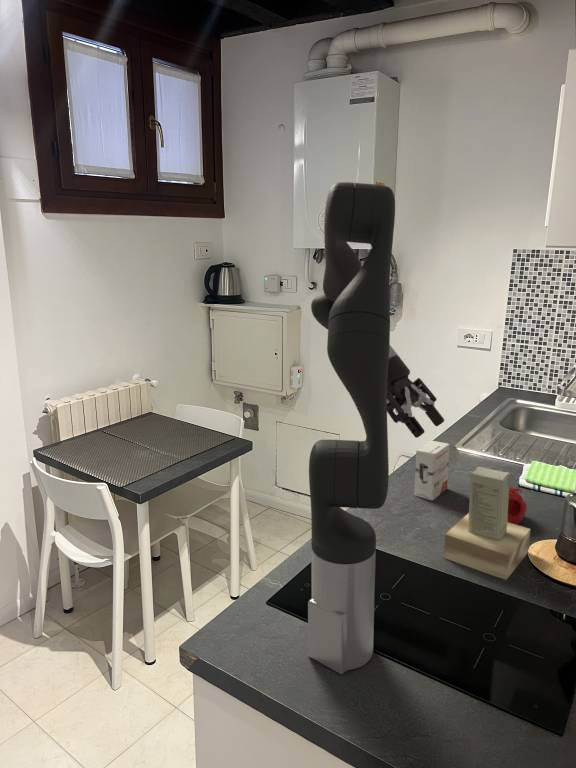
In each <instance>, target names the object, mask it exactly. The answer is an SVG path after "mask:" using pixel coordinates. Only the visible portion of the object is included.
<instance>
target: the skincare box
mask: <svg viewBox="0 0 576 768" xmlns="http://www.w3.org/2000/svg"><path fill="white" fill-rule="evenodd" d="M469 476H470V479H469V480H470V481H469V501H468V503H469V504H468V507H469V508H468V513H469V524H468V531H469V532H472V533H475V534H479V535H482V536H486V537H489V538H493V539H497V540H500V539H501V538H502V537H503V536H504V534H505V533H506V531H507V517H508V500H509V487H510V483H511V481H510V479H511V473H510V472H507V471H502V470H499V469H492V468H489V467H485V466H477V467H476V468H475V469H474V470H472V471H471V472H470V475H469Z"/></svg>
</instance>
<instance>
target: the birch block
mask: <svg viewBox="0 0 576 768" xmlns="http://www.w3.org/2000/svg"><path fill="white" fill-rule="evenodd" d="M468 524H469V512H468V513H466V515H464V516H463V518H461V519H460V520H459V521H458V522H457V523H456V524H455V525H454V526H452V528H450V529H449V530H448V531H447V532H446V533H445V534H444V548H443V549H444V550H443V558H444V559H446V560H449V561H453V562H455V563H457V564H459V565H463V566H466V567H468V568H471V569H474V570H477V571H479V572H483V573H485V574H488V575H491V576H494V577H496V578H499V579H501V580H504V581H507V580H508V578H509V577H511V575H512V573H514V571H515V570H516V569H517V567H518V566H519V565H520V564H521V562H522V561H523V560H524V558H525V557H526V556H527V554H528V553H529V547H530V541H531V540H530V537H531V528H529V527H525V526H522V525H519V524H516V525H515V524H512V523H509V522H507V531H506V533H505V534H504V536H503V537H502V538H501V539H500V540H497V539H493V538H489V537H486V536H482V535H479V534H475V533H472V532H469V531H468Z"/></svg>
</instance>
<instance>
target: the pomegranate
mask: <svg viewBox="0 0 576 768" xmlns="http://www.w3.org/2000/svg"><path fill="white" fill-rule="evenodd" d="M519 492H520V493H523V491H522V490H521V489H520V488H515V487H510V486H509V500H508V517H507V522H509V523H512V524H515V525H519V523H521V521H523V519H524V517H525V516H526V513H527V509H528V506H527V502H525V501H524V500H523V497H522V495H521V494H520V493H519Z"/></svg>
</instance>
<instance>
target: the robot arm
mask: <svg viewBox="0 0 576 768" xmlns="http://www.w3.org/2000/svg"><path fill="white" fill-rule="evenodd" d="M326 197H327V198H326V203H325V208H324V220H323V221H324V225H323V226H324V228H323V229H324V230H323V231H324V232H323V234H324V235H323V236H324V242H323V243H324V256H325V257H324V258H325V267H324V274H323V280H322V281H323V282H322V290H323V292H322V293H321V294H318V295H317V296H315V297H314V298H313V299H312V301H311V305H310V309H311V312H312V316H313V317H314V318H315V321H317V322H318V324H320V325H321V326H322V327H323V328H325V329H326V330H327V346H326V351H327V356H328V360H329V362H330V364H331V366H332V368H333V370H334V372H335V373H336V376H338V378H339V380H340V381H341V383H342V385H343V386H344V388H345V390H346V391H347V392H348V394H349V396H350V397H351V399H352V401H353V403H354V405H355V407H356V410H357V412H358V413H359V416H360V418H361V421H362V424H363V428H364V431H365V436H366V438H365V440H349V439H348V440H347V439H319V440H317V441H316V442H315V443H314V444H313V445H312V448H311V451H310V452H309V460H308V485H309V497H310V498H309V499H310V514H311V516H310V517H311V519H310V520H311V598H310V599H309V600H308V601H307V633H308V634H307V637H308V638H307V639H308V642H307V643H308V645H307V648H308V651H307V653H308V655H307V656H308V657H309V658H311V659H313V660H315V661H317V662H318V663H320V664H321V665H323V666H326V667H327V668H329V669H330V670H333V671H334V672H336V673H338V674H340V675H343V674H345V672H348V671H350V670H356V669H358V668H361V667H363V666H365V665H366V664H368V662H369V661H370V660H371V658H372V657H373V653H374V631H375V630H374V625H375V621H374V620H375V618H374V617H375V588H376V587H375V585H376V583H375V582H376V581H375V580H376V554H377V553H376V549H377V536H376V531H375V529H374V527H373V526H372V525H371V524H370V523H369V522H368V521H366V520H365V519H363V518H361V517H359V516H356V515H355V514H352V513H350V512H348V511H346V510H344V509H343V508H351V509H369V510H370V509H371V510H376V509H377V510H378V509H380V508H382V507H383V506H384V505H385V502H386V500H387V496H388V491H389V490H388V489H389V479H390V477H389V475H390V474H389V469H390V468H389V466H390V465H389V462H390V461H389V440H388V439H389V437H388V435H389V433H388V415H389V416H390V418H391V420H392V421H393V422H394V423H395V424H397V423H401V424H404V425H405V426H406V427H407V429H408V430H409V431H410V434H412V435H413V436H414V438H415V439H416V438H420V437H421V436H422V435H423V434H425V429H424V428H423V427H422V425H421V423H420V422H419V421H418V419H416V417H415V416H413V412H412V407H413V408H419V409H420V410H422V411H424V413H425V415H426V416H427V417H428V418H429V420H430V421H431V423H432V424H433V425H434V426H435V427H439V426H440V425H441V424H443V423H444V422H445V418H444V417H443V416H442V415H441V413H440V412H439V411H438V409H437V408H436V407H435V402H436V401H437V397H436V396H435V395H434V393H433V392H432V391H431V390H430V388H429V387H428V386H427V385H426V384H425V383H424V381H423V380H422V379H421V378H419V377H418V378H416V379H415V380H414V381H412V380H411V379H410V378H409V376H410V374H411V370H410V369H409V368H408V366H407V365H406V363H405V362H404V361H403V359H401V357H400V356H399V355H398V353H397V351H396V350H395V349H394V348H393V347H392V345H391V344H390V342H391V336H390V335H391V334H390V333H391V295H390V294H391V291H390V290H391V286H390V285H391V265H392V264H391V263H392V255H393V253H392V252H393V244H394V243H393V242H394V231H395V230H394V229H395V219H396V198H395V194H394V191H393V189H392V188H390V187H389V186H387V185H382V184H375V183H363V182H351V181H350V182H347V181H346V182H345V181H344V182H342V181H341V182H336V183H334V184H333V185H332V186H331V187H330V189H329V191H328V194H327V196H326ZM349 243H354V244H355V243H356V244H367V245H370V246H371V249H370V251H369V254H368V255H367V257H366V260H365V261H364V263H363V264H362V263H361V260H360V258H359V257H358V255H357V253H356V252H355V250H354V249H353V248H352V247H351V246H350V244H349ZM394 410H395V412H394Z"/></svg>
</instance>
